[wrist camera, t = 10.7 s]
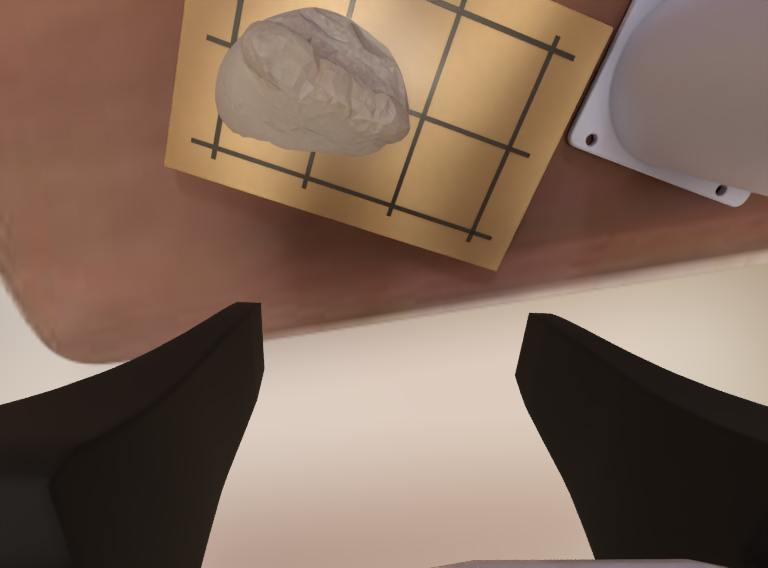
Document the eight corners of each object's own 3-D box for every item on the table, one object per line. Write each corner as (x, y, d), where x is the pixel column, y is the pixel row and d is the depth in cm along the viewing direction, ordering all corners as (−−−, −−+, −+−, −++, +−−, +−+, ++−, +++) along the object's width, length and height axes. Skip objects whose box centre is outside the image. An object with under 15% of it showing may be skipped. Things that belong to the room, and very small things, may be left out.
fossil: (257, 124, 18) (139, 160, 9) (251, 28, 16) (102, -50, 7) (396, 132, 18) (421, 174, 9) (401, 38, 17) (439, -25, 8)
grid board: (602, 30, 18) (615, 27, 17) (491, 264, 22) (497, 272, 21) (213, -139, 15) (202, -154, 14) (172, 162, 19) (162, 166, 18)
